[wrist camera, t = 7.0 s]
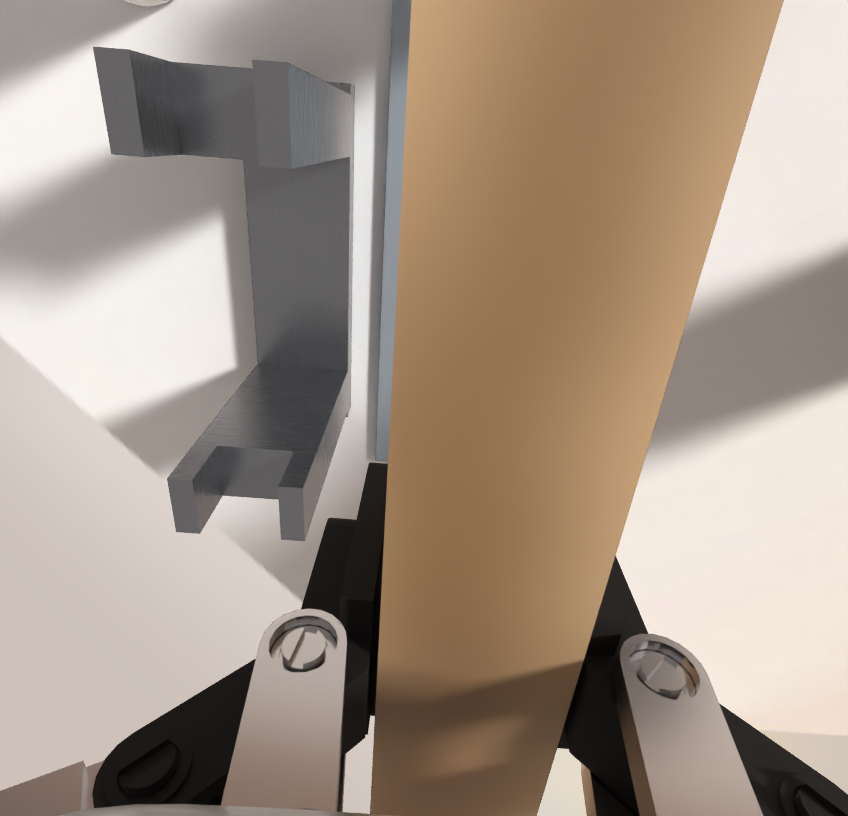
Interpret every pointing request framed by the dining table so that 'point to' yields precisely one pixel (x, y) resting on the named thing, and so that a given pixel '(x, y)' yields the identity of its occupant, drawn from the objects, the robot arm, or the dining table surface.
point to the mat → (392, 215)
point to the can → (147, 2)
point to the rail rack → (261, 264)
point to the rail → (534, 356)
